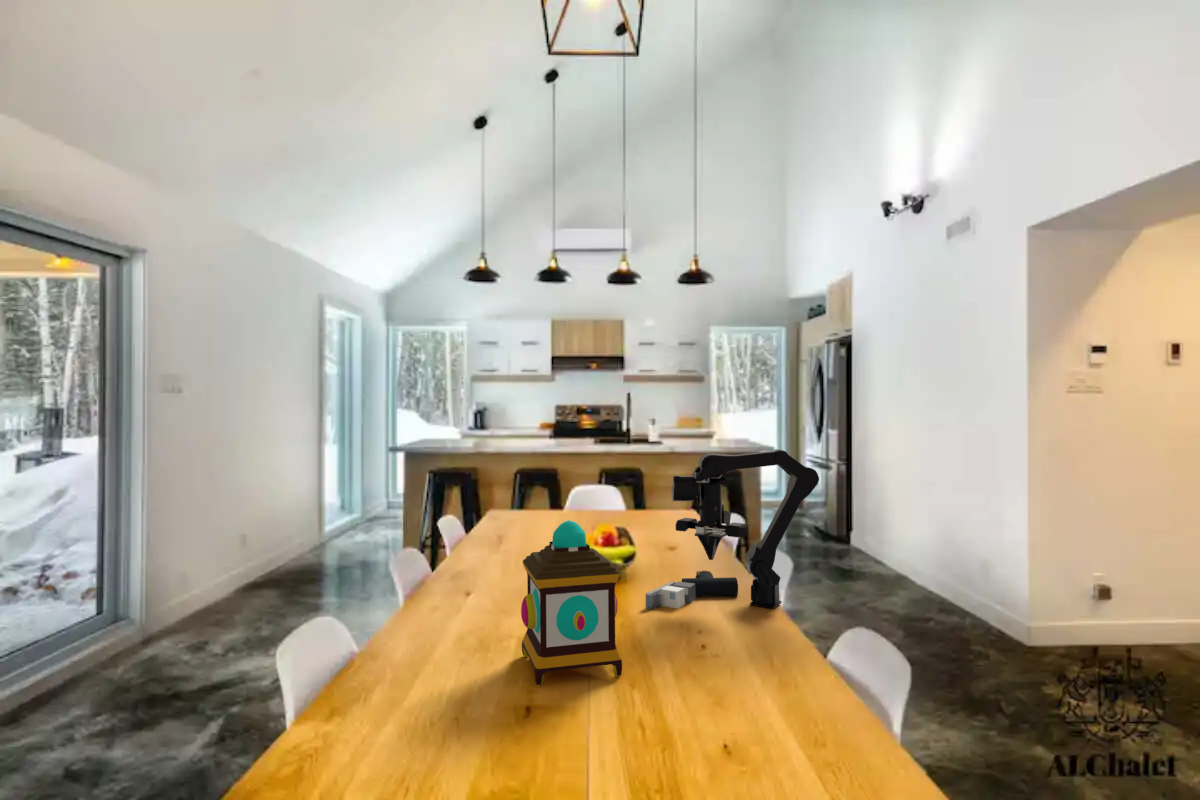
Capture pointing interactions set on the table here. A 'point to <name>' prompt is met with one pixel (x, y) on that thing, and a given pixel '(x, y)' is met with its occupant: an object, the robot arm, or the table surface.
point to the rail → (656, 597)
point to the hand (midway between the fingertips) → (711, 559)
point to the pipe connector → (713, 585)
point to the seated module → (688, 591)
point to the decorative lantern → (569, 606)
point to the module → (673, 596)
